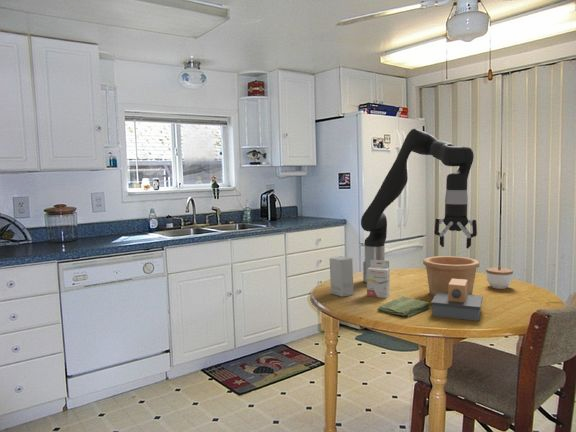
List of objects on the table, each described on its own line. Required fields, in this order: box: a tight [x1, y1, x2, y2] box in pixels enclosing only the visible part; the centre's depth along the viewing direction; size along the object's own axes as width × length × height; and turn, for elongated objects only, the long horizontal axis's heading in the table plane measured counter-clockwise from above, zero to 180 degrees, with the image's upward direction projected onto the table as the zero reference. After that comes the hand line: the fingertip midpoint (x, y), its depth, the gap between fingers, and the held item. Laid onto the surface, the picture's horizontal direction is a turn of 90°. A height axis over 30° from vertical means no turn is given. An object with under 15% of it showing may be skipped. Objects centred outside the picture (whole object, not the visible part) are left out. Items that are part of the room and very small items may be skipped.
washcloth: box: [377, 295, 431, 318], centre depth 169 cm, size 13×18×3 cm
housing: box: [448, 279, 468, 303], centre depth 164 cm, size 11×6×6 cm, turn 154°
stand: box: [430, 292, 484, 322], centre depth 165 cm, size 16×16×5 cm
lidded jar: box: [485, 265, 514, 290], centre depth 200 cm, size 11×11×9 cm
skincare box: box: [329, 256, 354, 298], centre depth 193 cm, size 8×7×16 cm
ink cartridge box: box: [366, 260, 391, 299], centre depth 189 cm, size 9×5×15 cm, turn 65°
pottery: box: [422, 255, 480, 298], centre depth 189 cm, size 22×22×14 cm
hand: (454, 247), depth 165 cm, fingers open, 8 cm apart
